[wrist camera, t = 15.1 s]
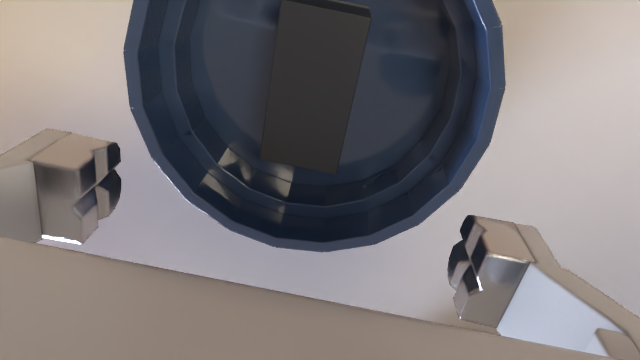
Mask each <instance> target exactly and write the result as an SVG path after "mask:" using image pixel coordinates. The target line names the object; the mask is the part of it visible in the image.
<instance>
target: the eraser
mask: <svg viewBox="0 0 640 360" xmlns="http://www.w3.org/2000/svg"><path fill="white" fill-rule="evenodd" d="M371 20H372V18H371V14H370V10H369V7H368V6H363V5H359V4H354V3H349V2H344V1H339V0H281V4H280V11H279V19H278V26H277V33H276V41H275V48H274V55H273V63H272V70H271V77H270V85H269V92H268V99H267V107H266V114H265V121H264V129H263V136H262V143H261V151H260V160H265V161H270V162H275V163H280V164H285V165H290V166H295V167H300V168H305V169H311V170H316V171H321V172H326V173H331V174H336V173H337V170H338V165H339V161H340V156H341V152H342V148H343V143H344V139H345V134H346V130H347V126H348V121H349V117H350V112H351V108H352V104H353V99H354V95H355V90H356V86H357V82H358V77H359V73H360V68H361V64H362V60H363V55H364V51H365V46H366V42H367V38H368V33H369V29H370V24H371Z"/></svg>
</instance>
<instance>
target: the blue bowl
mask: <svg viewBox="0 0 640 360" xmlns="http://www.w3.org/2000/svg"><path fill="white" fill-rule="evenodd" d="M339 1H344V2H349V3H354V4H359V5H363V6H368V7H369V10H370V14H371V18H372V20H371V24H370V29H369V33H368V38H367V42H366V46H365V51H364V55H363V60H362V64H361V68H360V73H359V77H358V82H357V86H356V90H355V95H354V99H353V104H352V108H351V112H350V117H349V121H348V126H347V130H346V134H345V139H344V143H343V148H342V152H341V156H340V161H339V165H338V170H337V173H336V174H331V173H326V172H321V171H316V170H311V169H305V168H300V167H295V166H290V165H285V164H280V163H275V162H270V161H265V160H260V151H261V143H262V136H263V129H264V121H265V114H266V107H267V99H268V92H269V85H270V77H271V70H272V63H273V55H274V48H275V41H276V33H277V26H278V19H279V11H280V4H281V0H134V1H133V5H132V10H131V15H130V20H129V25H128V30H127V35H126V39H125V44H124V61H125V70H126V78H127V87H128V95H129V104H130V108H131V112H132V114H133V116H134V119H135V121H136V123H137V125H138V128H139V130H140V132H141V135H142V137H143V139H144V141H145V144H146V146H147V148H148V151H149V153H150V155H151V158H153V161H154V162H155V163H156V164H157V165H158V167H159V168H160V169H161V170H162V172H163V173H164V174H165V175H166V176H167V178H168V179H169V180H170V181H171V182H172V184H173V185H174V186H175V187H176V189H177V190H178V191H179V192H180V193H181V195H182V196H183V197H184V198H185V199H187V201H188V202H190V203H191V204H192V205H194V206H195V207H197V208H198V209H199V210H201V211H202V212H204V213H205V214H206V215H208V216H209V217H211V218H212V219H213V220H215V221H216V222H218V223H219V224H221V225H222V226H223V227H225V228H226V229H228V230H230V231H233V232H235V233H238V234H241V235H243V236H246V237H249V238H251V239H254V240H257V241H259V242H262V243H265V244H267V245H270V246H272V247H276V248H286V249H295V250H305V251H315V252H331V251H337V250H343V249H350V248H356V247H363V246H369V245H373V244H374V245H375V244H377V243H379V242H381V241H384V240H386V239H388V238H390V237H392V236H395V235H397V234H399V233H401V232H404V231H406V230H408V229H410V228H412V227H415V226H417V225H419V224H420V223H422V222H423V221H424V220H425V219H426V218H427V217H429V216H430V215H431V214H432V213H433V212H435V211H436V210H437V209H438V208H439V207H440V206H442V205H443V204H444V203H445V202H446V201H448V200H449V199H450V198H451V197H452V196H453V195H455V194H456V193H457V192H458V191H459V189H461V188H462V186H463V185H464V183H465V182H466V180H467V179H468V177H469V175H470V174H471V172H472V171H473V169H474V168H475V166H476V165H477V163H478V162H479V160H480V159H481V157H482V155H483V154H484V152H485V151H486V149H487V148H488V146H489V143H490V142H491V139H492V135H493V131H494V128H495V124H496V120H497V117H498V113H499V109H500V105H501V102H502V98H503V94H504V91H505V86H506V83H505V66H504V49H503V32H502V25H501V21H500V18H499V16H498V13H497V11H496V9H495V6H494V4H493V2H492V0H339Z"/></svg>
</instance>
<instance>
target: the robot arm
mask: <svg viewBox="0 0 640 360" xmlns="http://www.w3.org/2000/svg"><path fill="white" fill-rule="evenodd" d="M120 162H121V158H120V148H119V146H118V145H117V143H115V142H110V141H106V140H101V139H97V138H92V137H88V136H83V135H79V134H73V133H72V132H66V131H60V130H54V129H45V130H43V131H42V132H40V133H38V134H37V135H35V136H33V137H31V138H30V139H28V140H26V141H24V142H23V143H21V144H19V145H18V146H16V147H14V148H12V149H11V150H9V151H7V152H6V153H4V154H2V155H0V360H640V318H639V317H637V316H636V315H634V314H633V313H631V312H630V311H628V310H627V309H626V308H624V307H623V306H621V305H620V304H618V303H617V302H615V301H614V300H612V299H611V298H609V297H608V296H606V295H605V294H603V293H602V292H600V291H599V290H598V289H596V288H595V287H593V286H592V285H590V284H589V283H587V282H586V281H584V280H583V279H581V278H580V277H578V276H577V275H575V274H574V273H572V272H571V271H570V270H567V269H562V268H561V267H560V265H559V264H558V262H557V260H556V259H555V257H554V256H553V254H552V252H551V251H550V249H549V248H548V246H547V244H546V243H545V241H544V240H543V238H542V236H541V235H540V233H539V232H538V230H537V229H536V228H535V227H533V226H529V225H523V224H516V223H513V222H508V221H502V220H496V219H491V218H485V217H480V216H474V215H468V216H467V217H466V218H465V220H464V221H463V224H462V226H461V228H460V233H461V236H462V239H463V240H461V241H460V242H458V243H457V244H456V245H454V246H453V249H452V251H451V254H450V257H449V262H448V269H447V270H448V280H449V284H450V286H452V287H453V288H454V289H455V290H456V293H455V295H454V297H453V299H454V303H455V307H456V310H457V314H458V318H459V320H464V321H468V322H473V323H477V324H481V325H486V326H490V327H495V328H497V329H496V330H497V331H498V332H499V333H500V334H501V335H502V336H501V335H496V334H491V333H486V332H481V331H476V330H471V329H466V328H461V327H456V326H451V325H445V324H440V323H435V322H430V321H425V320H420V319H415V318H410V317H405V316H400V315H395V314H390V313H385V312H380V311H375V310H370V309H365V308H360V307H355V306H350V305H345V304H340V303H335V302H330V301H324V300H319V299H314V298H309V297H304V296H299V295H294V294H289V293H284V292H279V291H274V290H269V289H264V288H259V287H254V286H249V285H244V284H239V283H234V282H229V281H224V280H219V279H214V278H209V277H204V276H199V275H194V274H189V273H183V272H178V271H173V270H168V269H163V268H158V267H153V266H148V265H143V264H138V263H133V262H128V261H123V260H118V259H113V258H108V257H103V256H98V255H93V254H88V253H83V252H78V251H73V250H68V249H63V248H58V247H53V246H48V245H42V244H37V243H35V242H38V241H40V240H42V238H48V239H54V240H59V241H65V242H71V243H77V244H83V243H84V242H85V241H86V240H87V239H88V238H89V237H90V236H91V235H92V234H93V232H94V231H95V230H96V229H97V228H98V220H99V219H102V218H105V217H108V216H109V215H110V214H111V213H112V212H113V210H114V209H115V207H116V205H117V203H118V200H119V198H120V192H121V178H120V176H119V175H118V174H117V172H116V171H115V169H114V168H115V167H116V166H117V165H118V164H119V163H120Z"/></svg>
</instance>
